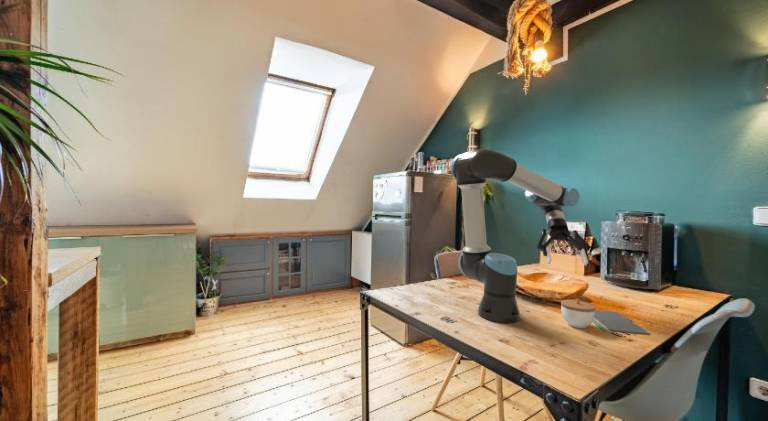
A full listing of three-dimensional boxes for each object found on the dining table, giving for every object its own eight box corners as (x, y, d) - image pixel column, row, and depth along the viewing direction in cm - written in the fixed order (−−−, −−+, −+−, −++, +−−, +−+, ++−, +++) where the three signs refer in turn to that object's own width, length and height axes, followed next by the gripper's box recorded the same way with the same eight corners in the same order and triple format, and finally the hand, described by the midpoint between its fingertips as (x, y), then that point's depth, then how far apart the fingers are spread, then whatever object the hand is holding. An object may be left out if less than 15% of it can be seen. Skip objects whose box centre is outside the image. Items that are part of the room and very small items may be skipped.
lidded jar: (591, 322, 121) (593, 298, 121) (596, 333, 111) (598, 306, 111) (559, 317, 126) (560, 293, 125) (561, 327, 116) (562, 301, 115)
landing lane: (603, 331, 113) (604, 330, 113) (576, 308, 137) (576, 307, 137) (651, 335, 110) (651, 334, 110) (615, 311, 134) (615, 311, 134)
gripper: (584, 229, 145) (598, 269, 131) (525, 227, 150) (532, 266, 135) (590, 218, 140) (605, 259, 125) (528, 216, 144) (536, 256, 130)
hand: (567, 263), depth 130 cm, fingers open, 13 cm apart
